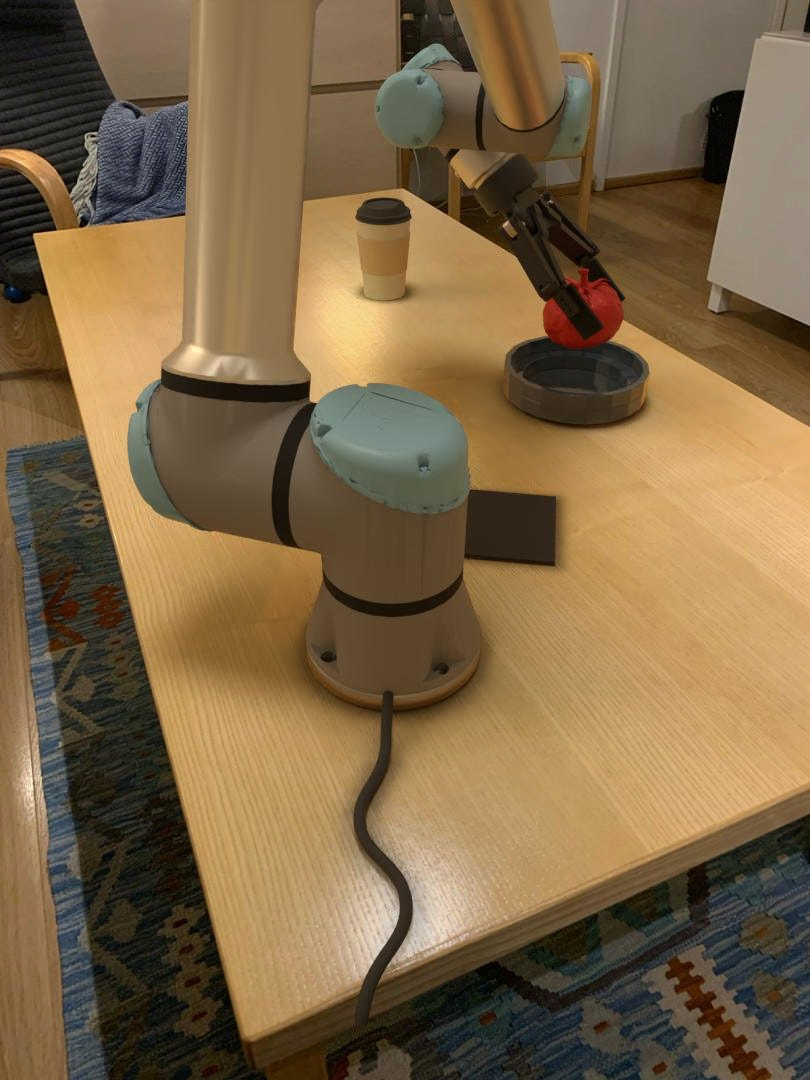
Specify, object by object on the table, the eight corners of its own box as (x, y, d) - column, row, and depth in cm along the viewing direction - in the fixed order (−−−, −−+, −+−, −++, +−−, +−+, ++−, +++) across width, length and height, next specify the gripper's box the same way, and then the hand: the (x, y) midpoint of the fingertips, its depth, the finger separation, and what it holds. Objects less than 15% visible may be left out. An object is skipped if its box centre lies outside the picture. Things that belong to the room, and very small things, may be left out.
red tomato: (633, 349, 110) (646, 276, 104) (564, 360, 107) (573, 286, 101) (592, 321, 117) (601, 251, 112) (526, 331, 114) (532, 260, 109)
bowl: (648, 433, 108) (654, 400, 106) (498, 422, 111) (501, 390, 108) (638, 369, 123) (643, 339, 121) (506, 360, 125) (508, 331, 123)
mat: (554, 566, 87) (555, 562, 87) (434, 555, 88) (434, 551, 88) (555, 499, 96) (556, 496, 96) (447, 490, 98) (447, 487, 98)
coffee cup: (347, 297, 145) (343, 203, 136) (374, 280, 152) (372, 190, 143) (395, 306, 142) (394, 211, 133) (420, 288, 148) (421, 197, 140)
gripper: (505, 171, 116) (605, 306, 120) (437, 214, 100) (556, 368, 103) (548, 132, 111) (650, 273, 115) (484, 170, 95) (606, 334, 98)
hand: (605, 318), depth 109 cm, fingers closed on red tomato, 10 cm apart
